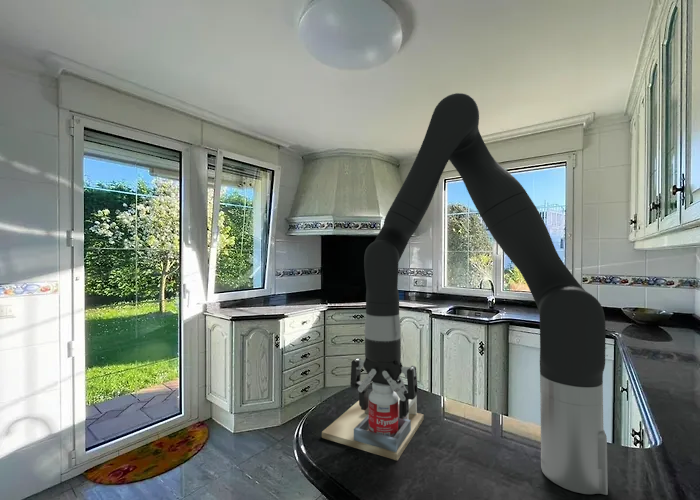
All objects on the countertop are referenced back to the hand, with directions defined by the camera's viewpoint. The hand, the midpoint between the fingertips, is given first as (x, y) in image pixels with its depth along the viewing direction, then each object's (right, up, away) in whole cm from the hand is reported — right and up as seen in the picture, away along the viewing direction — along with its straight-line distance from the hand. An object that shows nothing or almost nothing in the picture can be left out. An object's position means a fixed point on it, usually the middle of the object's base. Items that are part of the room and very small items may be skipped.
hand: (383, 412), depth 70 cm
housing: (+4, -5, +8) cm, 10 cm away
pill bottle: (0, -5, 0) cm, 5 cm away
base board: (-1, -6, +5) cm, 8 cm away
